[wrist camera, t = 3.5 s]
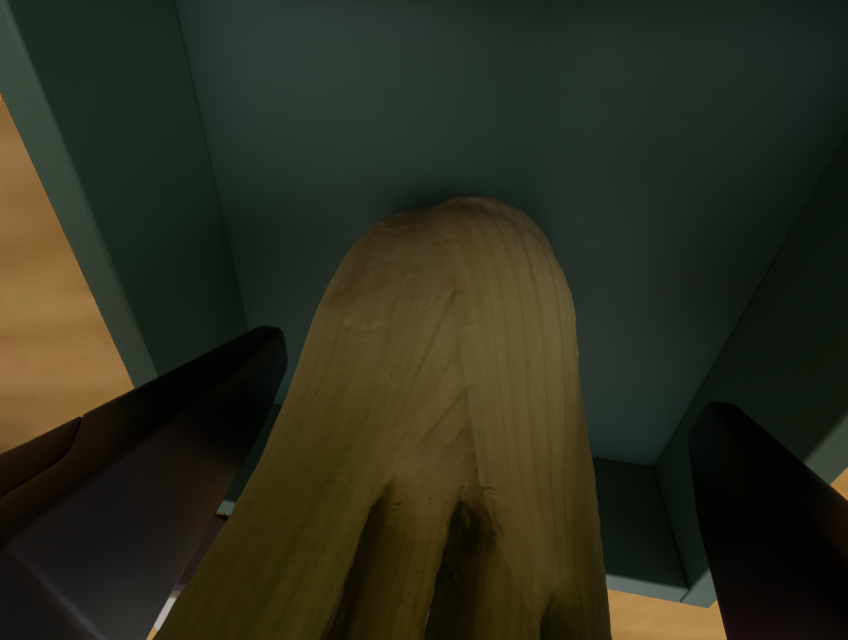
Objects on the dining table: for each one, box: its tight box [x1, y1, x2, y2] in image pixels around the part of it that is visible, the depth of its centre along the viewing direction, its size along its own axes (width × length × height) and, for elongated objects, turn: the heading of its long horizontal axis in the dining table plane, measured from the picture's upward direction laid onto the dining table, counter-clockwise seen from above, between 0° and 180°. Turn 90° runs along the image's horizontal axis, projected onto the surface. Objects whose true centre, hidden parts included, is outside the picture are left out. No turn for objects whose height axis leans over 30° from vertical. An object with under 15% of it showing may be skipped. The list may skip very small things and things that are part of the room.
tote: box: [0, 0, 848, 608], centre depth 11 cm, size 16×15×4 cm
